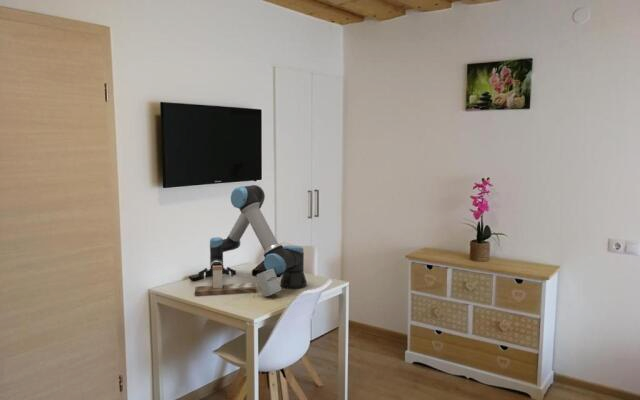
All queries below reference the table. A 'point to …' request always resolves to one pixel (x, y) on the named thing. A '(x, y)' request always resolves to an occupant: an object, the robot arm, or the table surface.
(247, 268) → the table surface
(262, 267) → the diary
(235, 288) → the board
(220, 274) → the stub
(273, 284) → the supplement box
